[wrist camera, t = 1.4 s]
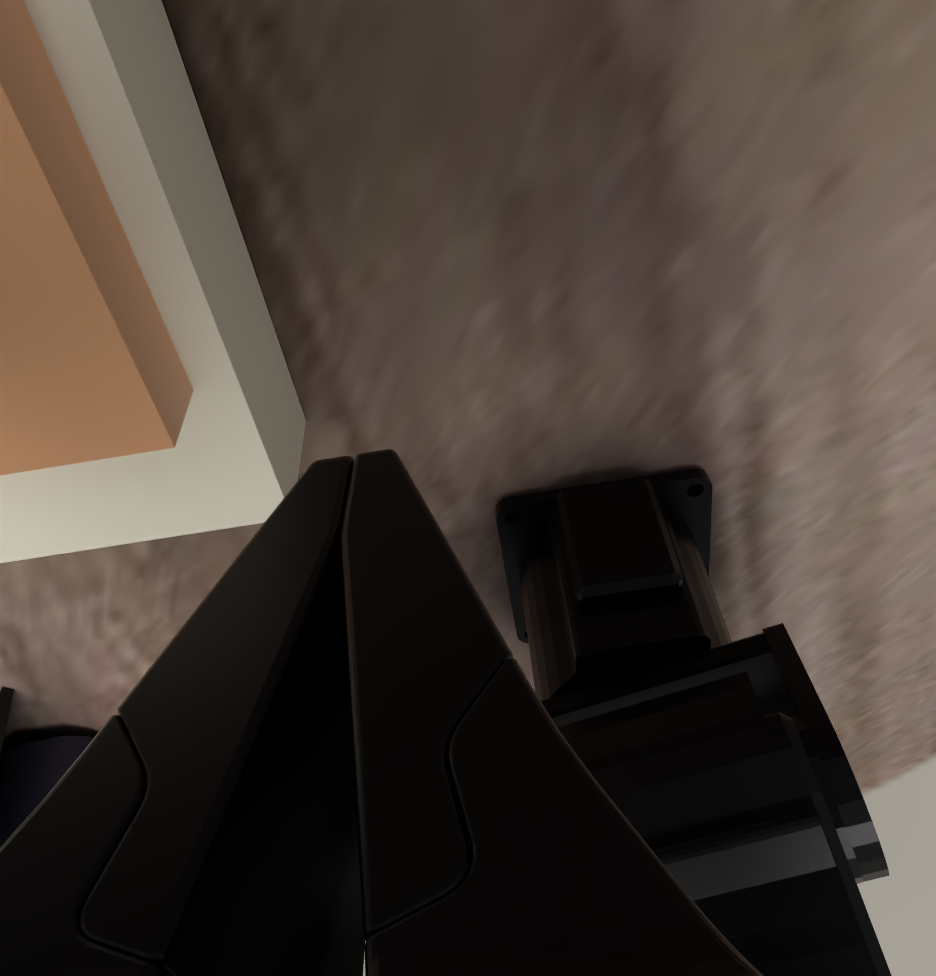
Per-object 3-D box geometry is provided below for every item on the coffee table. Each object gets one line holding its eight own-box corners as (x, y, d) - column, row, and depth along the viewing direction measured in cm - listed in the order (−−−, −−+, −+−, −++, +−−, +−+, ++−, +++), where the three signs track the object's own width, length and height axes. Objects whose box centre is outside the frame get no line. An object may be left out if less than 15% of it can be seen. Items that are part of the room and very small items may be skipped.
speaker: (-83, 755, 33) (-188, 1073, 25) (4, 683, 31) (-82, 1005, 23) (95, 809, 37) (50, 1092, 30) (181, 749, 35) (156, 1037, 28)
